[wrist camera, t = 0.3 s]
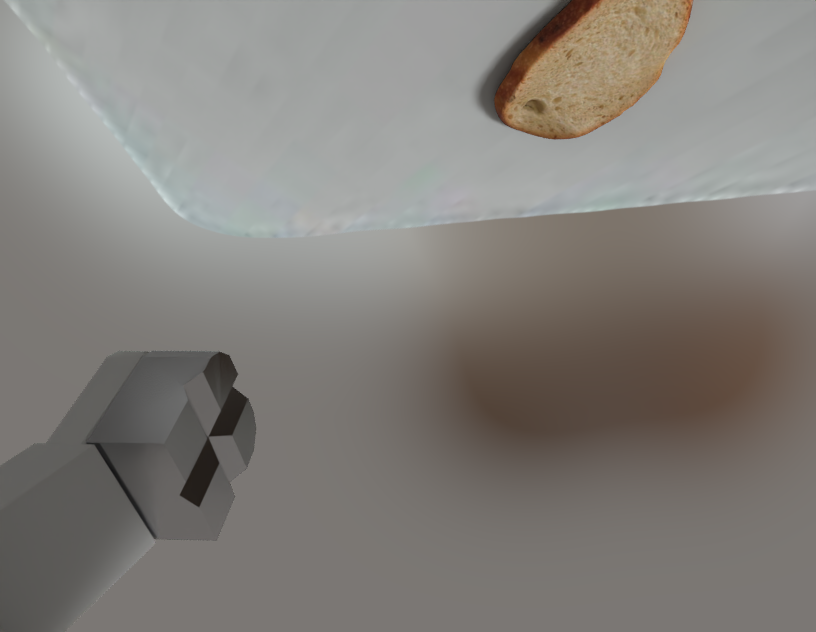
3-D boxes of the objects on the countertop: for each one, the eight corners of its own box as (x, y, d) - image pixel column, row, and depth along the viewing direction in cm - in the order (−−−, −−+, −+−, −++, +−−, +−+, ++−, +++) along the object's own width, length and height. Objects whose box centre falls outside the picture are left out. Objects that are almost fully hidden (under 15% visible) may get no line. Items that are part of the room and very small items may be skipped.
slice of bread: (693, -77, 55) (699, -48, 53) (693, 104, 69) (698, 133, 67) (462, -22, 61) (459, 6, 59) (506, 135, 75) (505, 162, 73)
